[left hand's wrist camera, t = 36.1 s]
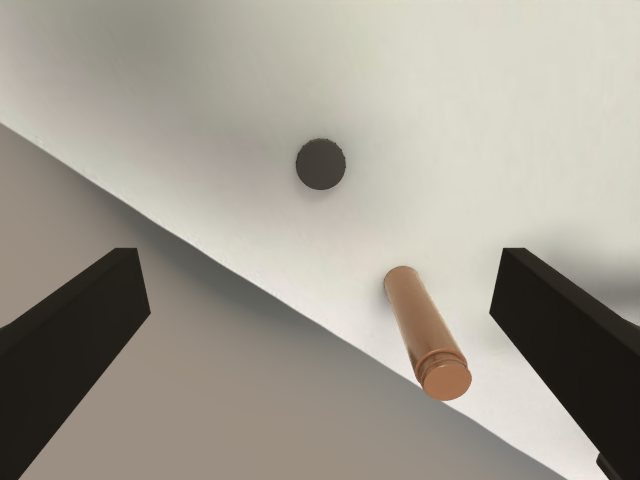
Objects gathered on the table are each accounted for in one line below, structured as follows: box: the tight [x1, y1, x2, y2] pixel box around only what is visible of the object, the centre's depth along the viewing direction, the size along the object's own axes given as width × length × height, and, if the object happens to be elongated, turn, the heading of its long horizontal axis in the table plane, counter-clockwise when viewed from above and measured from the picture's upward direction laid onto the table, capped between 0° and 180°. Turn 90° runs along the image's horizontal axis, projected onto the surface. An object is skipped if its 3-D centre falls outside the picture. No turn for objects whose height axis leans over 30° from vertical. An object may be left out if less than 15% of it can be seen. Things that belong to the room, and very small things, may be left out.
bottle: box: [384, 267, 472, 401], centre depth 37 cm, size 4×4×17 cm
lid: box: [296, 138, 346, 190], centre depth 38 cm, size 5×6×2 cm
